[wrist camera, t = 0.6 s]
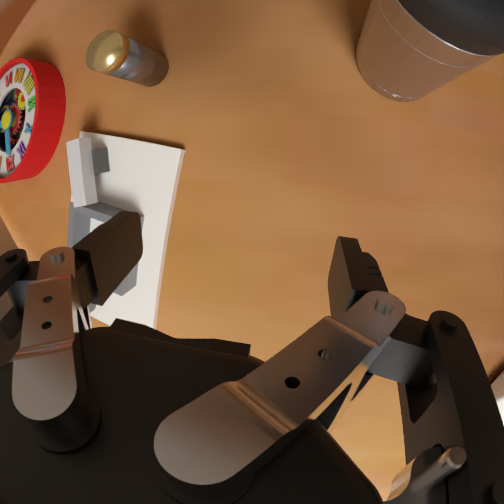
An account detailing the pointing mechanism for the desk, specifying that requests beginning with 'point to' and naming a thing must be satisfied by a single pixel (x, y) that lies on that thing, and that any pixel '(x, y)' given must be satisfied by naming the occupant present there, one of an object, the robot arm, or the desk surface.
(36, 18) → the desk surface
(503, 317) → the desk surface
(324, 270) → the desk surface
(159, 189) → the shaft rig
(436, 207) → the desk surface
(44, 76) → the toy clock
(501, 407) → the white blue plastic platform
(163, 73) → the gold lidded jar
